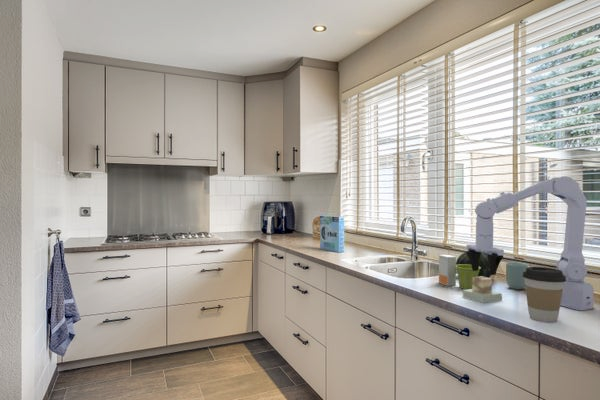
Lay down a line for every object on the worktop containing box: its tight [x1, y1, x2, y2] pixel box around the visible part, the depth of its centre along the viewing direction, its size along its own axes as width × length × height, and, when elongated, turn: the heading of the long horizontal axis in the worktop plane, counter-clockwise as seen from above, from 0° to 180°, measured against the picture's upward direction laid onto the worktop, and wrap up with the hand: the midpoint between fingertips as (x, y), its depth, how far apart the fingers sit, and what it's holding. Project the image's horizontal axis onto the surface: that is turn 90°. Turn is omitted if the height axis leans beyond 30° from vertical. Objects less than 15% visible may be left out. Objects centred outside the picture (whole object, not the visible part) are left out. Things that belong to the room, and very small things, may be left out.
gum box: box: [319, 215, 345, 253], centre depth 258 cm, size 20×5×23 cm, turn 36°
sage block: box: [462, 289, 503, 304], centre depth 141 cm, size 9×9×3 cm
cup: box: [505, 261, 529, 291], centre depth 157 cm, size 8×8×10 cm
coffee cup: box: [523, 266, 566, 324], centre depth 118 cm, size 11×11×15 cm
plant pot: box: [456, 264, 481, 290], centre depth 157 cm, size 9×9×9 cm
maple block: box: [472, 276, 493, 294], centre depth 141 cm, size 4×4×5 cm
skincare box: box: [438, 254, 457, 287], centre depth 163 cm, size 6×4×12 cm
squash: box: [456, 250, 492, 278], centre depth 173 cm, size 14×15×15 cm
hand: (483, 272), depth 141 cm, fingers open, 7 cm apart
